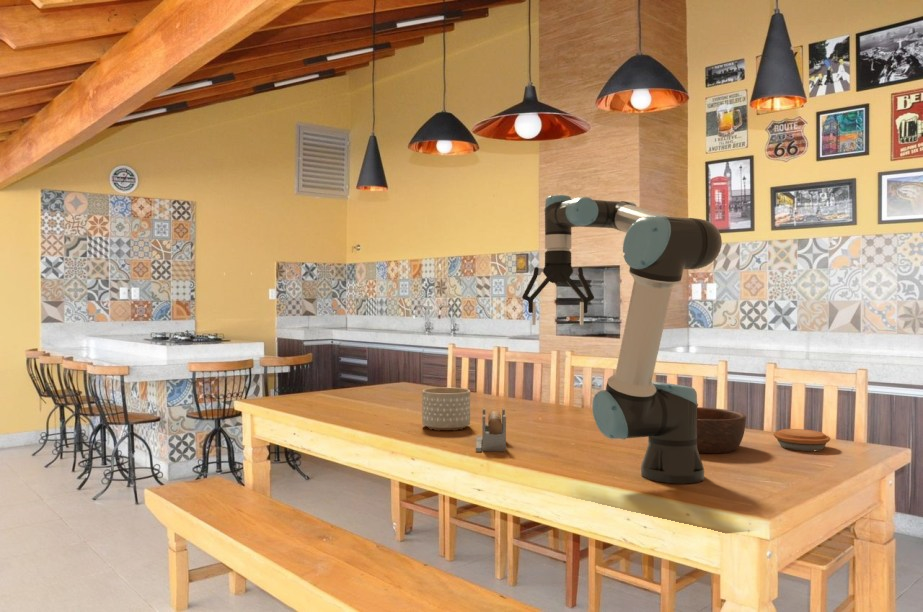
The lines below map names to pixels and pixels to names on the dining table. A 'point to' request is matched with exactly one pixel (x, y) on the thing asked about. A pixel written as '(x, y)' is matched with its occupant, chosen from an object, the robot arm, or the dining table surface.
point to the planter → (446, 408)
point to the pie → (801, 439)
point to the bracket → (492, 437)
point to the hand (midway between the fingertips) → (557, 324)
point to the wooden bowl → (719, 430)
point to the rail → (494, 422)
